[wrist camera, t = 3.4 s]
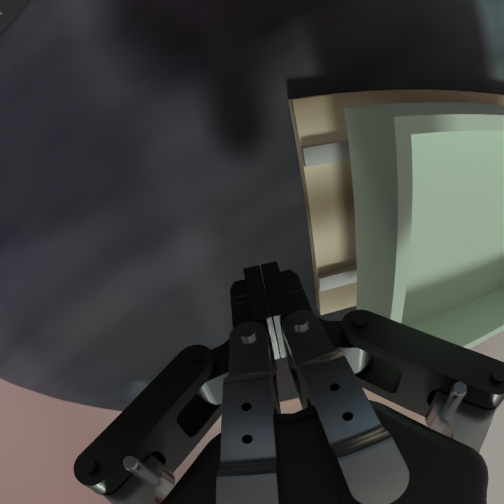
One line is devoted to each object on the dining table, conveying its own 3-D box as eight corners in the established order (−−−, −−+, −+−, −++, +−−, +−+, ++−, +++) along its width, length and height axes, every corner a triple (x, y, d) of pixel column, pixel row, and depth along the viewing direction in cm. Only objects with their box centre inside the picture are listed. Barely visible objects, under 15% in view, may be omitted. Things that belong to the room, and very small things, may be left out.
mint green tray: (325, 104, 13) (393, 116, 8) (498, 101, 13) (571, 122, 8) (343, 313, 20) (379, 386, 14) (484, 266, 20) (531, 312, 14)
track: (288, 99, 15) (294, 100, 13) (539, 100, 14) (551, 103, 13) (316, 306, 22) (322, 319, 20) (527, 237, 21) (536, 244, 20)
